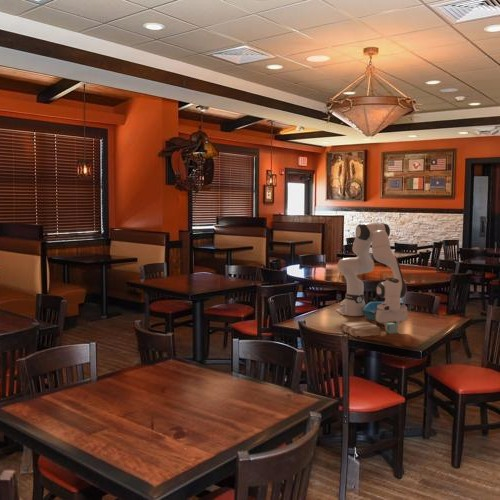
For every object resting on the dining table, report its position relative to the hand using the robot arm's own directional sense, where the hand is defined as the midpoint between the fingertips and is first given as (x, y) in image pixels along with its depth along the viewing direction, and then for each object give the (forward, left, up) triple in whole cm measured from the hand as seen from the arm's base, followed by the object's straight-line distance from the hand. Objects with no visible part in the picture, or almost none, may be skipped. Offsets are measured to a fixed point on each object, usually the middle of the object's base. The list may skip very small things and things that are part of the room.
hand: (391, 328), depth 329 cm
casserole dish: (-38, +18, -3) cm, 42 cm away
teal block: (0, 0, -2) cm, 2 cm away
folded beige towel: (-5, -18, -3) cm, 19 cm away
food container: (-13, +4, -2) cm, 14 cm away
